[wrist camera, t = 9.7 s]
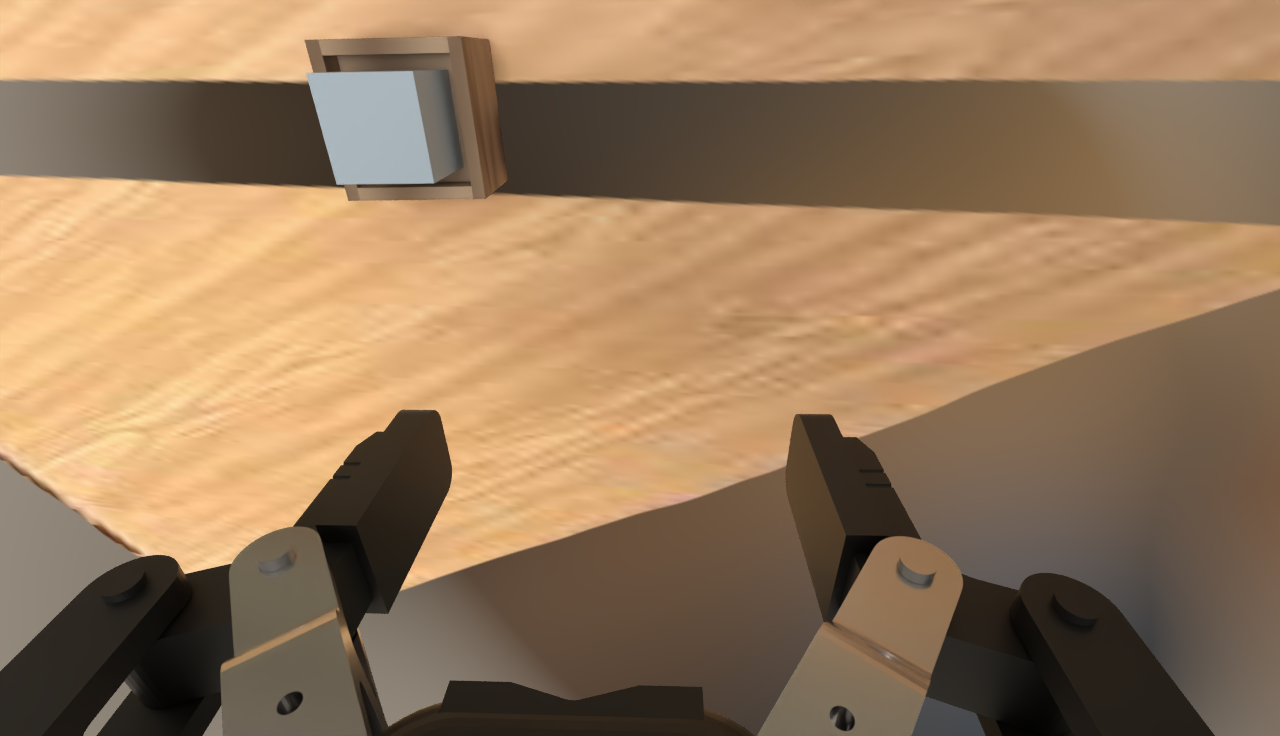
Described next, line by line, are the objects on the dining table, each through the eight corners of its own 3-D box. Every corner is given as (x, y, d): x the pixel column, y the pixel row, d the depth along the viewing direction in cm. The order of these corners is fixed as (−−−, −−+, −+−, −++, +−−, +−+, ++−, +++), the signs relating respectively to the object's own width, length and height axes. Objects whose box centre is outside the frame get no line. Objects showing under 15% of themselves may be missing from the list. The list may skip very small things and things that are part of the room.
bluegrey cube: (447, 69, 30) (412, 71, 25) (463, 166, 32) (434, 183, 28) (356, 70, 30) (306, 73, 25) (379, 167, 32) (336, 184, 28)
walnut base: (489, 39, 32) (460, 36, 28) (507, 180, 36) (485, 198, 32) (355, 42, 33) (304, 39, 28) (388, 182, 37) (348, 200, 32)
